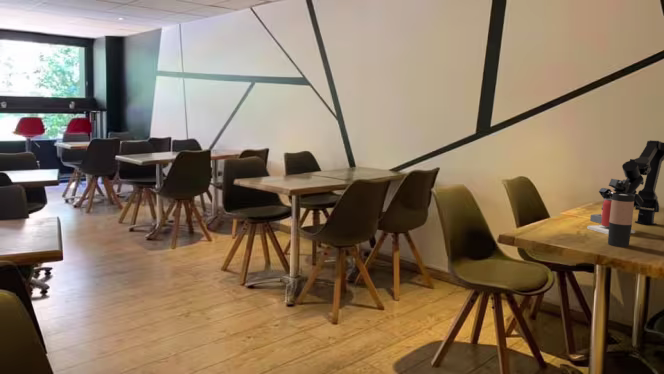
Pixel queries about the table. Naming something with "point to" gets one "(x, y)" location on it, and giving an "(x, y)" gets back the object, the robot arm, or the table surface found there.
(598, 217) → the grey square frame
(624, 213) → the travel mug
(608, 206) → the beer can
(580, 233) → the table surface
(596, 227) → the paper card
